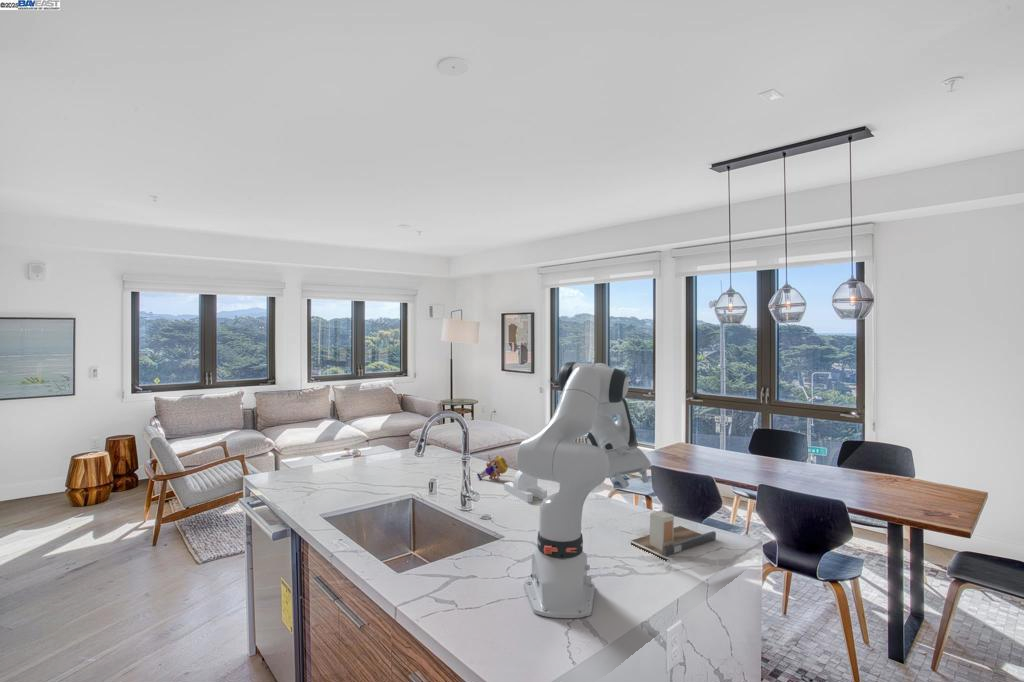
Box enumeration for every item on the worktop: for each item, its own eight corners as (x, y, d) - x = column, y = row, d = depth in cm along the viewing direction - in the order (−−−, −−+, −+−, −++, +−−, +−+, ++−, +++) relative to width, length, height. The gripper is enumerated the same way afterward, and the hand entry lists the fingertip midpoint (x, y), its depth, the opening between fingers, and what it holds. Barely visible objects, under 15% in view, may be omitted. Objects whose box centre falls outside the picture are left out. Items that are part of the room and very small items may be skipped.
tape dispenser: (504, 491, 219) (504, 465, 218) (523, 488, 224) (523, 463, 224) (527, 503, 203) (527, 476, 203) (547, 499, 208) (547, 472, 208)
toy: (471, 463, 237) (498, 447, 236) (477, 465, 244) (504, 449, 242) (482, 489, 231) (510, 473, 229) (489, 491, 238) (516, 475, 236)
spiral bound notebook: (715, 544, 165) (715, 539, 165) (665, 561, 152) (665, 556, 152) (680, 530, 176) (680, 525, 176) (630, 544, 163) (631, 540, 163)
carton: (649, 544, 160) (650, 513, 160) (660, 541, 163) (661, 510, 162) (662, 550, 155) (663, 518, 155) (673, 547, 158) (674, 515, 158)
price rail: (716, 540, 164) (716, 532, 164) (666, 556, 151) (666, 548, 151) (713, 538, 165) (713, 531, 165) (663, 555, 152) (663, 546, 152)
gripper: (632, 450, 184) (652, 484, 176) (589, 457, 173) (609, 494, 165) (641, 440, 180) (663, 474, 172) (598, 447, 169) (619, 483, 161)
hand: (636, 484), depth 168 cm, fingers open, 8 cm apart
